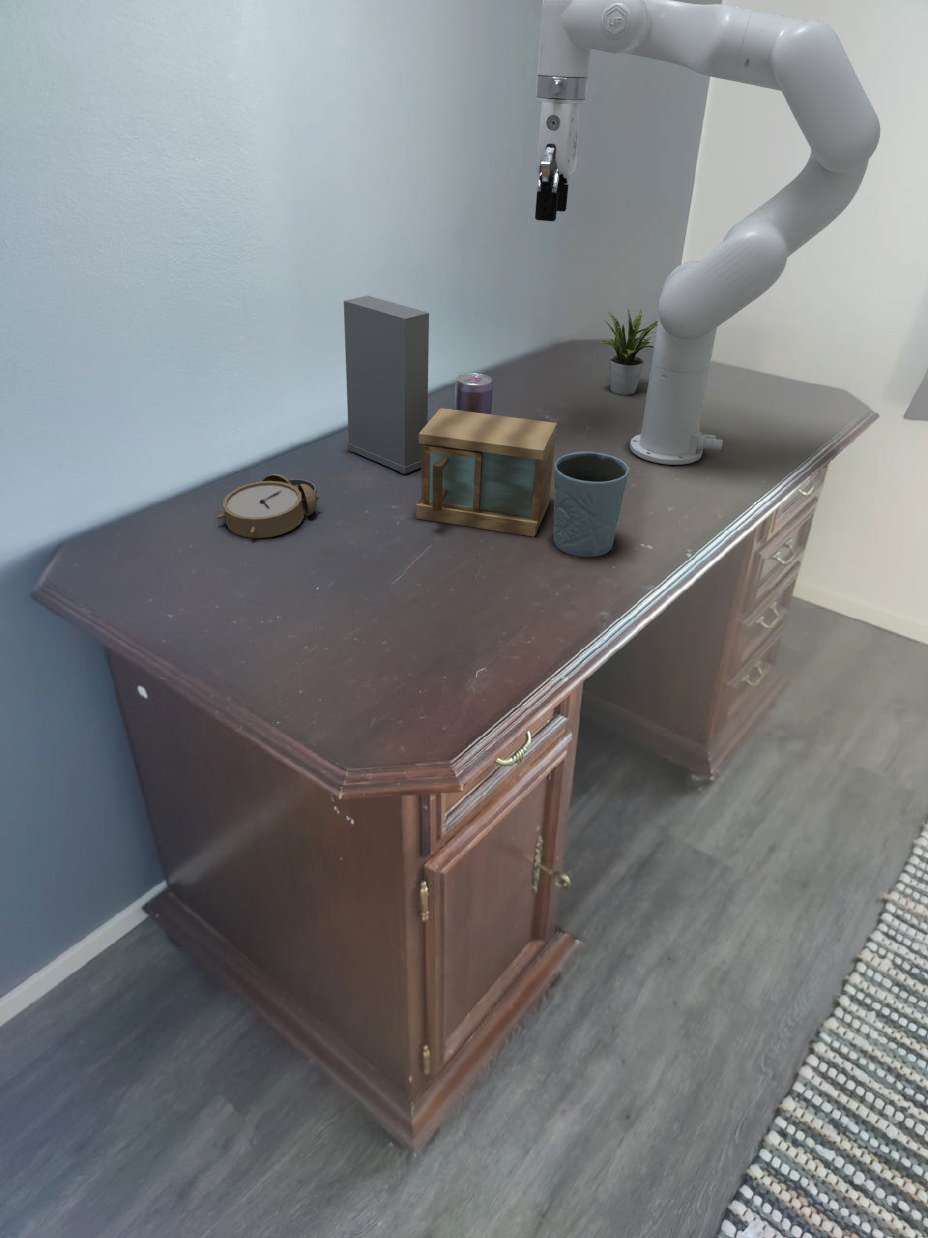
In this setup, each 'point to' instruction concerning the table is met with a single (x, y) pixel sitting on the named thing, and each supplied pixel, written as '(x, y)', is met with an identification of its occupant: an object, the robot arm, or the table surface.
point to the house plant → (627, 355)
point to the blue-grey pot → (587, 502)
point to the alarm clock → (269, 506)
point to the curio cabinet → (497, 468)
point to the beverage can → (473, 393)
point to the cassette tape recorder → (386, 380)
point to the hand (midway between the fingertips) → (550, 215)
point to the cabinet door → (452, 478)
